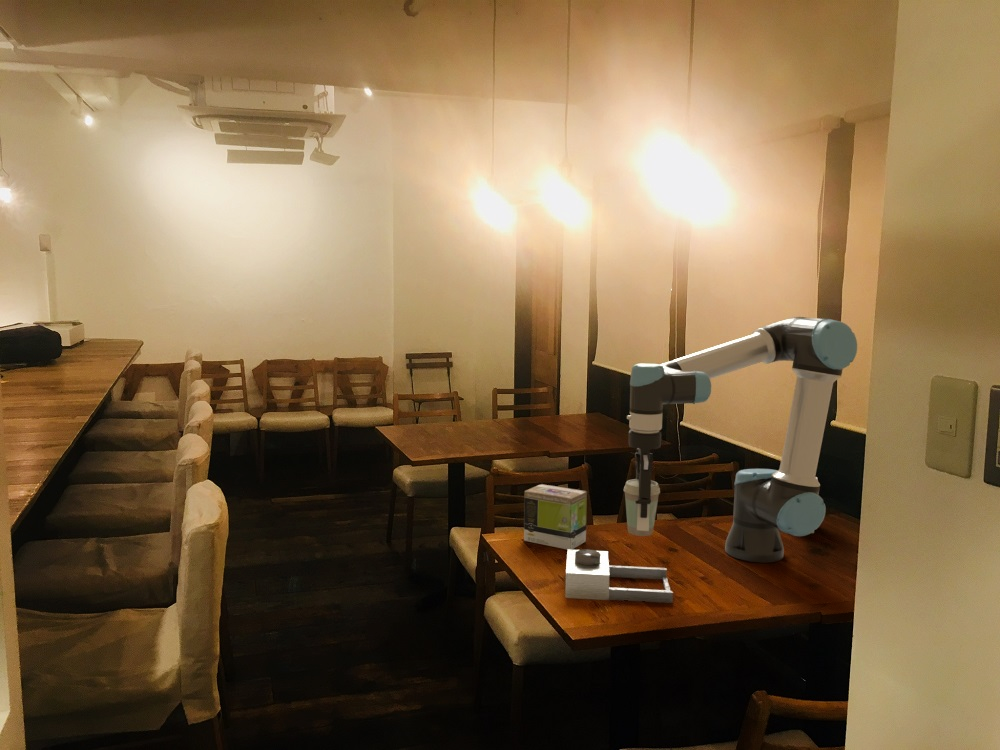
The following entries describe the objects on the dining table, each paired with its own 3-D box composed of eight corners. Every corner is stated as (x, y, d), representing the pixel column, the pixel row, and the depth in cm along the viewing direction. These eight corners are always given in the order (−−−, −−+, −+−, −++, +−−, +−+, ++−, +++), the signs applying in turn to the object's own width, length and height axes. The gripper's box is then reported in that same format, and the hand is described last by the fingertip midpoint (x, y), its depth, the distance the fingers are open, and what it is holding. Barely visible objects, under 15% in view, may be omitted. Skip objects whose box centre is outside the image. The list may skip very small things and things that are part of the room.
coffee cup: (658, 539, 186) (660, 488, 184) (621, 536, 188) (622, 486, 186) (658, 528, 194) (660, 479, 193) (623, 525, 196) (624, 477, 194)
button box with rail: (665, 577, 200) (667, 546, 199) (672, 603, 184) (673, 570, 183) (567, 572, 202) (567, 541, 201) (565, 597, 187) (566, 564, 186)
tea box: (586, 541, 226) (588, 490, 224) (570, 551, 217) (571, 498, 215) (540, 531, 234) (541, 482, 232) (522, 541, 225) (523, 490, 223)
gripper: (626, 421, 198) (623, 511, 201) (631, 438, 178) (627, 538, 181) (657, 422, 197) (654, 512, 200) (665, 439, 177) (661, 539, 180)
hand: (641, 524), depth 191 cm, fingers closed on coffee cup, 8 cm apart
